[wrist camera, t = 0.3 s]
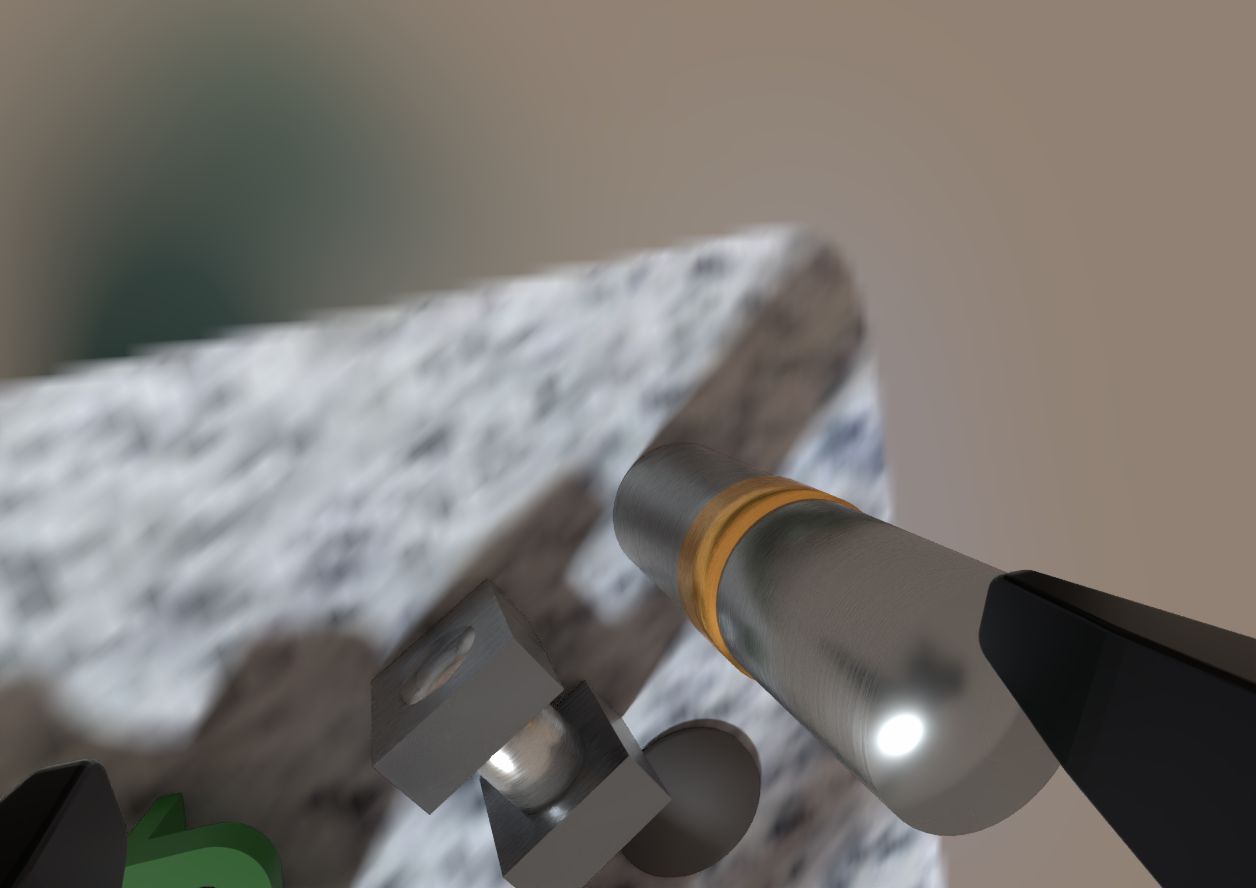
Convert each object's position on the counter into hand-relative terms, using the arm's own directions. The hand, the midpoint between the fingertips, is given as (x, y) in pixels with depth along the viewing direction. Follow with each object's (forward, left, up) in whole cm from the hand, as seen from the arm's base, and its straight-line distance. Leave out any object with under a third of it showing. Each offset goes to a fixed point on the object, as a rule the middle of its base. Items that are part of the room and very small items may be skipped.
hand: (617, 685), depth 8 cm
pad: (-5, -14, -15) cm, 21 cm away
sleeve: (+3, -7, -15) cm, 17 cm away
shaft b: (-5, -6, -15) cm, 17 cm away
